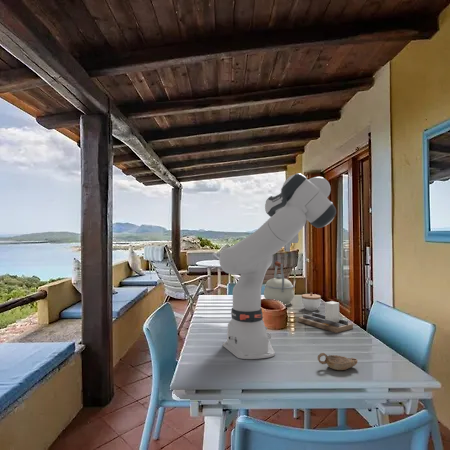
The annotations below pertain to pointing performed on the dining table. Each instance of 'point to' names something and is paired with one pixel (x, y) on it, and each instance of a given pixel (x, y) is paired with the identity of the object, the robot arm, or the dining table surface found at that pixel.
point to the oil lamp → (338, 361)
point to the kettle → (279, 287)
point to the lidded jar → (311, 301)
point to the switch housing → (325, 322)
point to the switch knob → (332, 311)
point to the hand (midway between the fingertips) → (287, 251)
